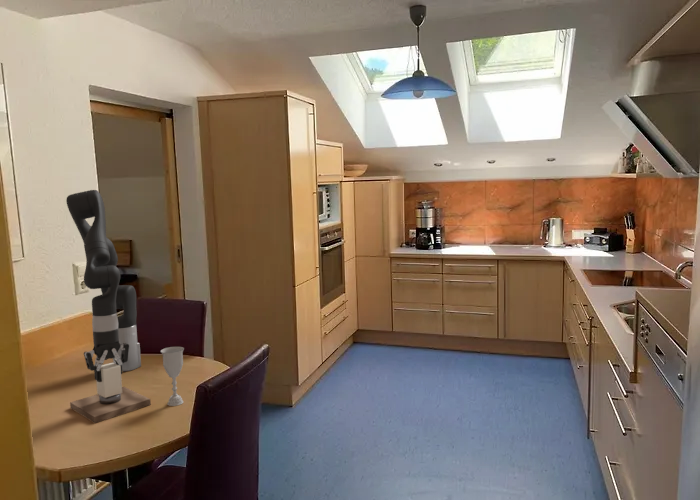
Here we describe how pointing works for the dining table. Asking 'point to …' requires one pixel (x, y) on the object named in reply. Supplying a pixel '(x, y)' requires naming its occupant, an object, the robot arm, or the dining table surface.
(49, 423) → the dining table surface
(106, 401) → the dark grey cylinder
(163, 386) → the dining table surface
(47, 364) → the dining table surface
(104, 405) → the walnut block
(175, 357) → the chalice
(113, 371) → the cream rectangular block
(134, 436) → the dining table surface
